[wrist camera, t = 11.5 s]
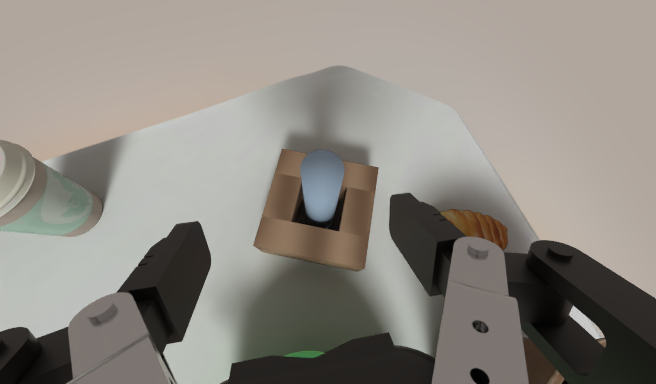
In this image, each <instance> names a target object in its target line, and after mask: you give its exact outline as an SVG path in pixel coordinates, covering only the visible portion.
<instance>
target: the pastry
mask: <svg viewBox="0 0 656 384" xmlns="http://www.w3.org/2000/svg"><path fill="white" fill-rule="evenodd" d="M440 213H441V215H443V216H445V217H446V218H447V220H449V221H450V222H451V223H452V224H454V225H455V226H456V227H457V228H458V229H459V230H460V231H462V232H463V233H464V234H465V235H466V236H467V237H478V238H482V239H486V240H488V241H491V242H492V243H494V244H496V245H497V246H499V247H500V248H501V249H502V251H503V250H504V249H505V248H506V246H507V243H508V239H507V228H506V227H505V226H504V225H502V224H501V222H499V221H497V220H495V219H493V218H492V217H491V216H488V215H482V214H481V213H478V212H476V213H475V212H472V211H470V210H463V211H458V210H456V209H451V210H447V211H443V212H440Z"/></svg>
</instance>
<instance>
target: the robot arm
mask: <svg viewBox="0 0 656 384" xmlns="http://www.w3.org/2000/svg"><path fill="white" fill-rule="evenodd" d="M389 230H390V235H391V237H392V240H393V241H394V243H395V244H396V246H397V247H398V249H399V250H400V252H401V253H402V255H403V256H404V258H405V259H406V261H407V262H408V264H409V265H410V267H411V269H412V270H413V272H414V273H415V275H416V276H417V278H418V279H419V281H420V282H421V284H422V285H423V287H424V288H425V290H426V291H427V293H428V294H429V296H435V295H440V294H442V295H443V296H444V298H445V301H444V307H443V313H442V319H441V326H440V332H439V338H438V344H437V350H436V356H435V358H433V357H432V356H430V355H428V354H426V353H423V352H421V351H419V350H415V349H412V348H409V347H404V346H397V345H394V344H393V342H392V339H391V337H390V334H389V333H384V334H379V335H374V336H369V337H364V338H359V339H354V340H351V341H349V342H347V343H344V344H342V345H340V346H338V347H336V348H334V349H332V350H330V351H328V352H326V353H324V354H322V355H320V356H317V357H314V358H303V357H287V356H268V357H263V358H258V359H252V360H247V361H242V362H237V363H232V366H231V371H230V377H229V379H228V380H226V381H224V382H222V383H221V384H529V382H528V374H527V367H526V360H525V353H524V346H523V339H522V331H521V329H522V330H523V331H524V333H525V334H526V335H527V336H528V337H529V338H530V339H531V341H532V342H533V343H534V344H535V345H536V346H537V348H538V349H539V350H540V351H541V352H542V353H543V355H544V356H545V357H546V358H547V359H548V360H549V361H550V363H551V364H552V365H553V366H554V367H555V368H556V370H557V371H558V372H559V373H560V374H561V375H562V377H563V378H564V379H565V380H566V381H567V382H568V384H656V299H655V298H654V297H652V296H651V295H649V294H648V293H646V292H644V291H643V290H641V289H640V288H638V287H636V286H635V285H633V284H632V283H630V282H628V281H627V280H625V279H624V278H622V277H621V276H619V275H617V274H616V273H614V272H613V271H611V270H610V269H608V268H606V267H605V266H603V265H602V264H600V263H599V262H597V261H595V260H594V259H592V258H591V257H589V256H588V255H586V254H584V253H583V252H581V251H580V250H578V249H576V248H574V247H571V246H569V245H566V244H563V243H559V242H554V241H547V240H541V241H536V242H533V243H532V244H531V246H530V249H529V252H528V254H520V253H504V252H503V251H502V249H501V248H500V247H499V246H497V245H496V244H494V243H492V242H491V241H488V240H486V239H482V238H478V237H467V236H466V235H465V234H464V233H463V232H462V231H460V230H459V229H458V228H457V227H456V226H455V225H454V224H452V223H451V222H450V221H449V220H447V218H446V217H445V216H443V215H441V213H440V212H439V211H438V210H437V209H435V208H434V207H433V206H431V205H428V204H426V203H424V202H419V201H418V200H417V199H416V198H415V197H414V196H413V195H412V194H410V193H403V194H396V195H392V196H391V198H390V217H389ZM210 266H211V255H210V251H209V248H208V245H207V242H206V239H205V236H204V233H203V230H202V227H201V224H200V223H199V222H198V221H195V222H188V223H180V224H176V225H175V227H174V228H173V229H172V231H171V232H170V234H169V235H168V236H167V238H163V239H162V240H160V241H159V242H158V243H156V244H155V245H154V246H152V247H151V248H150V250H149V251H148V252H147V254H146V255H145V256H144V258H143V259H142V260H141V261H140V263H139V264H138V267H136V268H135V269H134V271H133V272H132V273H131V274H130V276H129V277H128V278H127V280H126V281H125V282H124V284H123V285H122V286H121V287H120V289H119V290H118V291H117V293H114V294H110V295H107V296H105V297H102V298H100V299H98V300H96V301H94V302H92V303H91V304H89V305H88V306H86V307H85V308H84V309H82V310H81V311H80V312H79V313H78V314H77V315H76V316H75V317H74V318H73V319H72V321H71V322H70V324H69V327H66V328H64V329H61V330H58V331H55V332H53V333H50V334H47V335H45V336H42V337H39V338H37V339H36V338H35V337H34V336H33V334H32V333H31V332H30V331H29V330H28V329H27V328H24V327H17V328H11V329H7V330H4V331H1V332H0V384H177V381H176V379H175V377H174V375H173V373H172V371H171V368H170V366H169V364H168V362H167V360H166V358H165V356H164V354H163V351H164V349H165V347H166V344H170V343H175V342H181V341H182V340H183V337H184V335H185V332H186V330H187V327H188V324H189V322H190V319H191V317H192V314H193V311H194V309H195V306H196V304H197V301H198V298H199V296H200V293H201V290H202V288H203V285H204V283H205V280H206V277H207V275H208V272H209V270H210ZM573 305H574V306H575V307H576V308H577V309H578V310H580V311H581V312H582V313H583V314H584V315H585V316H587V317H588V318H589V319H590V320H591V321H592V322H594V323H595V324H596V325H597V326H598V327H599V328H600V330H601V331H602V333H603V334H604V336H605V339H606V347H604V346H602V345H601V344H600V343H599V342H598V341H597V340H596V339H595V338H594V337H592V336H591V335H590V334H589V333H588V332H587V331H586V330H585V329H584V328H583V327H581V326H580V325H579V324H578V323H577V322H576V321H575V320H574V319H573V318H571V317H570V316H569V313H570V311H571V309H572V307H573Z"/></svg>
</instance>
